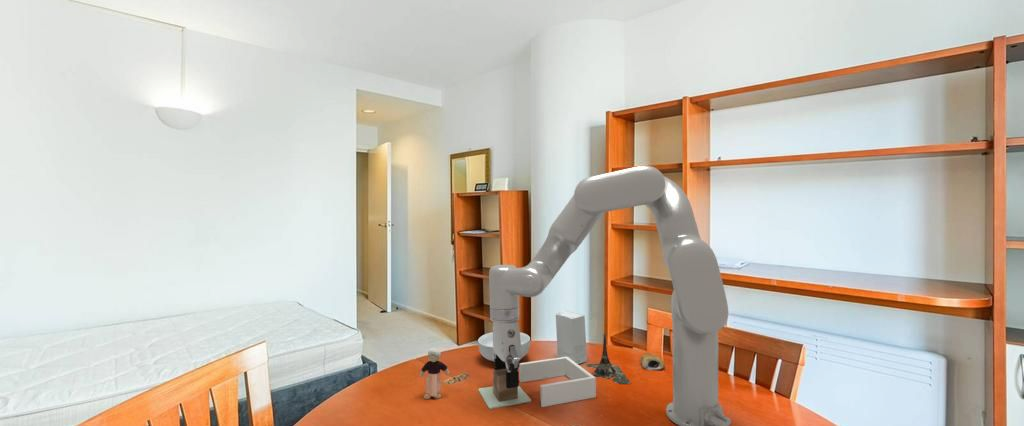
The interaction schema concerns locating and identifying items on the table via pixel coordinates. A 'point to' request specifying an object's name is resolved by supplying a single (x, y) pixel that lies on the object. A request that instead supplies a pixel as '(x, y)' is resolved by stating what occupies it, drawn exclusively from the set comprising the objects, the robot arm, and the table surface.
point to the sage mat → (494, 403)
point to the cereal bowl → (488, 351)
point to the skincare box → (571, 336)
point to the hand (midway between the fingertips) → (506, 379)
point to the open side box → (563, 391)
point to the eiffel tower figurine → (608, 368)
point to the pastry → (651, 362)
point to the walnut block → (503, 387)
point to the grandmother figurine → (433, 374)
